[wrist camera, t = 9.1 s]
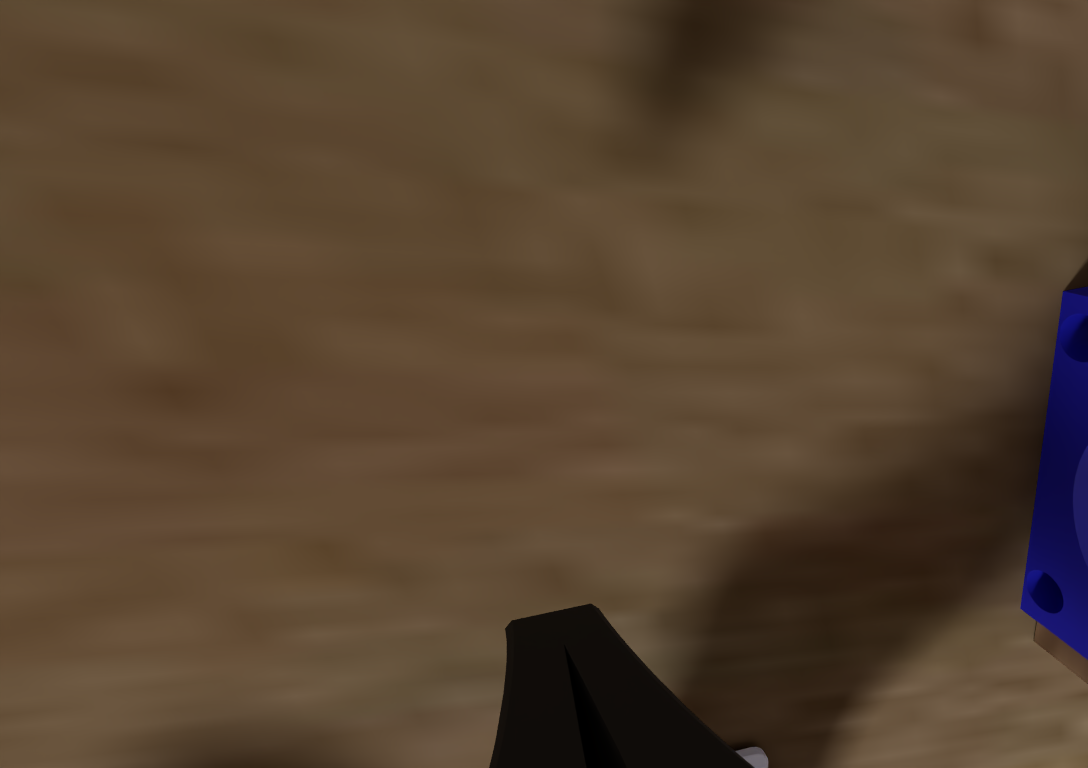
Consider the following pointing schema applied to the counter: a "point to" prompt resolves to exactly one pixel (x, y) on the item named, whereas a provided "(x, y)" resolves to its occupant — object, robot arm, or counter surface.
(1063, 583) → the cable clip
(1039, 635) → the wooden rack
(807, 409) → the counter surface
